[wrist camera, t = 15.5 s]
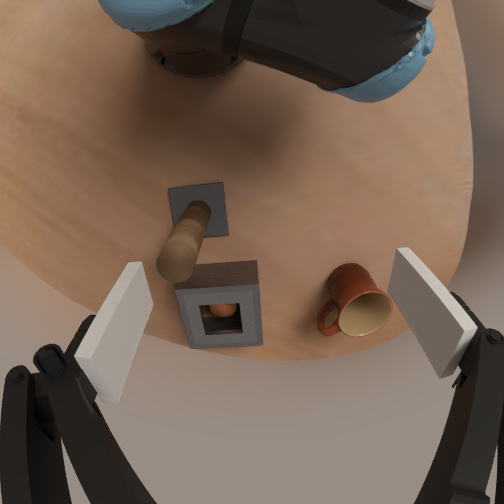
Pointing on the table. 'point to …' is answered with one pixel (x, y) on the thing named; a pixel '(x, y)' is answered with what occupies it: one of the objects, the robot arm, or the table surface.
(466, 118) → the table surface
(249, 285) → the grey hollow block
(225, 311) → the orange round ball
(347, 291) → the mug
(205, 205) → the brown cylinder
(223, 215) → the coaster
